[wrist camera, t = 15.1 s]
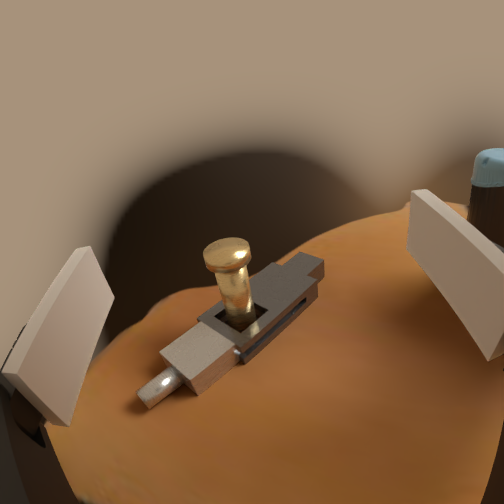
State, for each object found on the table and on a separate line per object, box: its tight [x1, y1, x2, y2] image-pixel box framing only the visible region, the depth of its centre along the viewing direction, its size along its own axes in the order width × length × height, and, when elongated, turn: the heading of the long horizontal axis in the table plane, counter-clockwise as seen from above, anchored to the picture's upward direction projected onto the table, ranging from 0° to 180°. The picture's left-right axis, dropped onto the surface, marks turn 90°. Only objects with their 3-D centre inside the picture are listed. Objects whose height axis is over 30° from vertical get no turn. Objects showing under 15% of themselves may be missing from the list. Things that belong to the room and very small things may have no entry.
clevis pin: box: [203, 238, 257, 333], centre depth 41 cm, size 6×6×14 cm
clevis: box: [135, 252, 324, 409], centre depth 44 cm, size 35×9×4 cm, turn 136°
